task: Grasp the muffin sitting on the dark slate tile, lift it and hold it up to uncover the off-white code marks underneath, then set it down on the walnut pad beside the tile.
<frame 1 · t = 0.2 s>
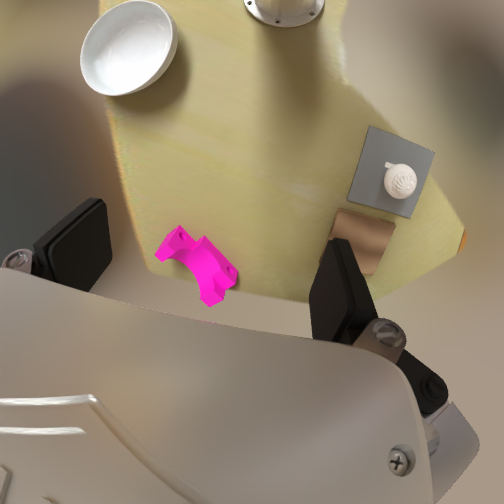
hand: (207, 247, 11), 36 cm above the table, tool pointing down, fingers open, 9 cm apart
code tile: (392, 174, 43), on the table
muffin: (392, 174, 43), resting on code tile
magenta cradle bracket: (203, 252, 56), on the table
walnut pad: (356, 242, 51), on the table
cereal bowl: (141, 50, 34), on the table
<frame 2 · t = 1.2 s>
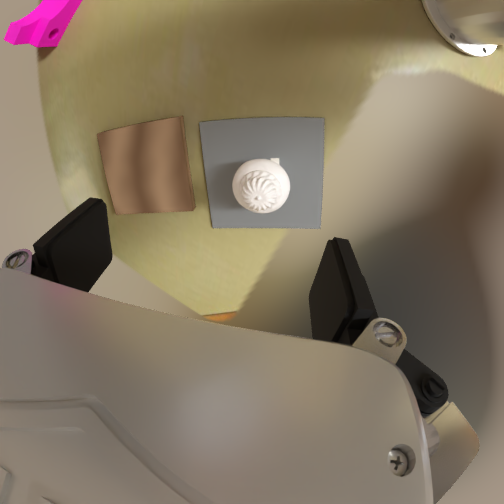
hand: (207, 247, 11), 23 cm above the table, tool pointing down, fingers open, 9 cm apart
code tile: (263, 175, 32), on the table
muffin: (263, 175, 32), resting on code tile
walnut pad: (146, 167, 33), on the table
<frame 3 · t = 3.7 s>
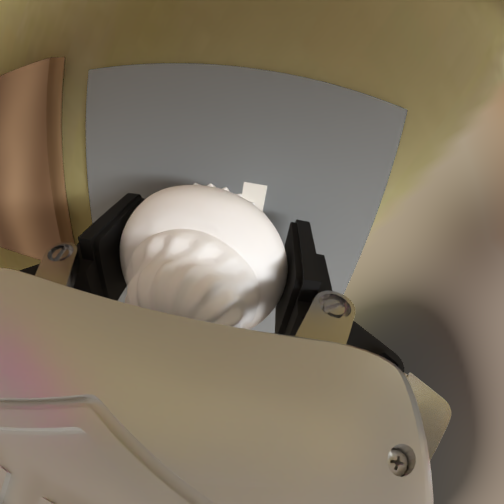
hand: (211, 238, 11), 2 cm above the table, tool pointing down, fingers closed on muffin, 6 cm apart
code tile: (218, 220, 13), on the table
muffin: (218, 222, 13), resting on code tile, touching gripper
walnut pad: (5, 164, 12), on the table
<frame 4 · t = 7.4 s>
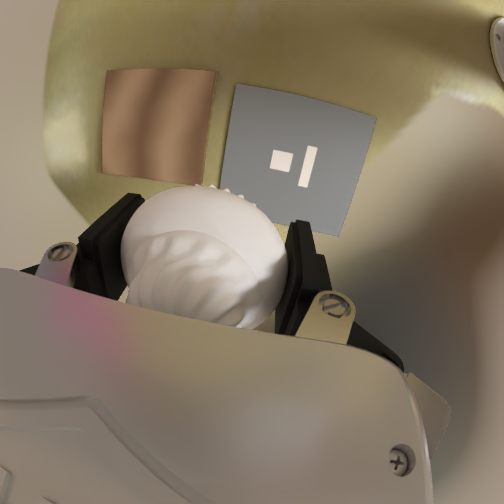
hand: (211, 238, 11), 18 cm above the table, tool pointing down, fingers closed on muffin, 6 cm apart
code tile: (293, 163, 27), on the table
muffin: (219, 222, 13), point 16 cm above the table, touching gripper
walnut pad: (154, 123, 25), on the table
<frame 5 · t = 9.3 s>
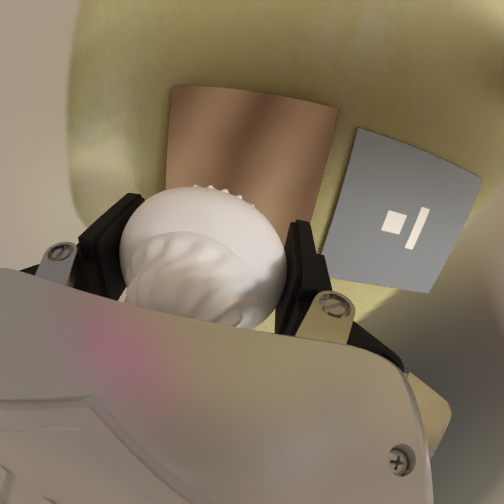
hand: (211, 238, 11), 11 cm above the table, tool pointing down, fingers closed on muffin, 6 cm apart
code tile: (404, 224, 22), on the table
muffin: (218, 223, 13), point 10 cm above the table, touching gripper
walnut pad: (244, 165, 21), on the table
when the fingers open (4 cm above the table, at t = 11.1 s): muffin drops 1 cm, resting on walnut pad.
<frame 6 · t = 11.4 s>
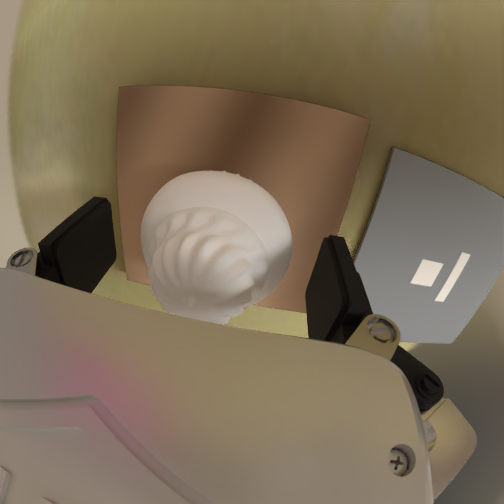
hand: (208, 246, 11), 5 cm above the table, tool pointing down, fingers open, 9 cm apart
code tile: (438, 273, 16), on the table
muffin: (228, 208, 14), point 1 cm above the table, touching walnut pad
walnut pad: (226, 201, 15), on the table
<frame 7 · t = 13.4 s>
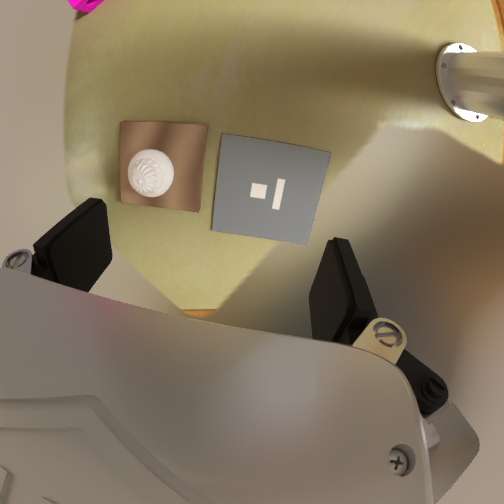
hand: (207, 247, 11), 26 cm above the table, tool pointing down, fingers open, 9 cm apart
code tile: (268, 191, 37), on the table
muffin: (160, 165, 34), point 1 cm above the table, touching walnut pad
walnut pad: (161, 164, 35), on the table
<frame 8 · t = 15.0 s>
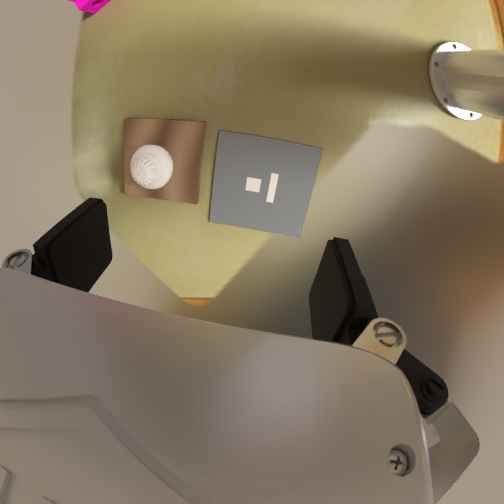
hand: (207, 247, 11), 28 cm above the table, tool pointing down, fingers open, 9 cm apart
code tile: (262, 185, 38), on the table
muffin: (161, 159, 36), point 1 cm above the table, touching walnut pad
walnut pad: (162, 158, 37), on the table
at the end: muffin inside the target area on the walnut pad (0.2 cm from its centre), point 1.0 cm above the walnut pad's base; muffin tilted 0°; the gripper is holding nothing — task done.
